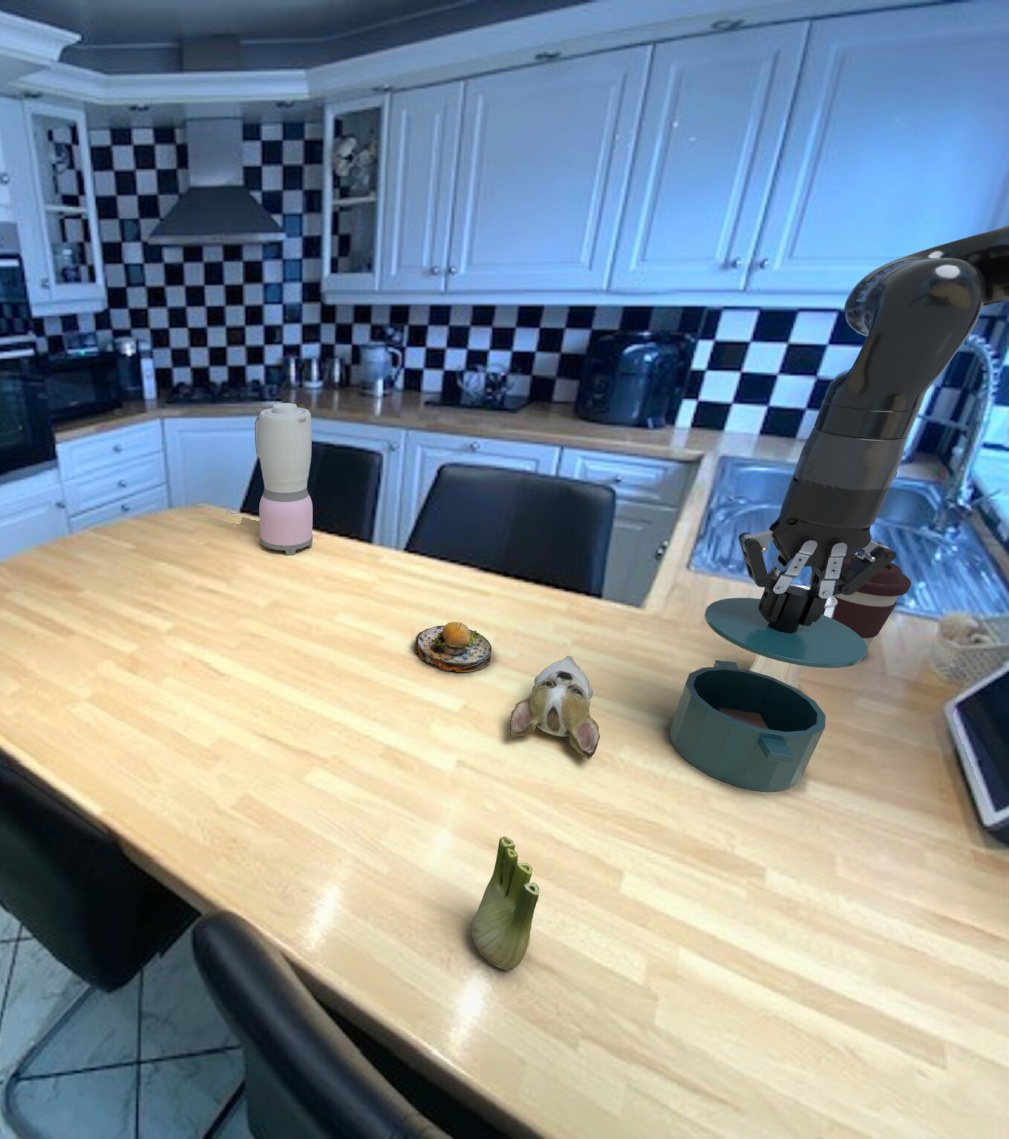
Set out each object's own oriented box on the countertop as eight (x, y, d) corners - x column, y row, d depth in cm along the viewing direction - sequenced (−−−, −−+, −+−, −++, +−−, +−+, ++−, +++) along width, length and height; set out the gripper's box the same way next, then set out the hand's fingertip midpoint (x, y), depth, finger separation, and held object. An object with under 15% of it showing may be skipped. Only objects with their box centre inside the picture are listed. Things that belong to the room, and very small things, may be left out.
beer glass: (812, 700, 88) (853, 608, 82) (757, 696, 89) (793, 605, 83) (782, 671, 95) (818, 584, 88) (731, 668, 96) (763, 582, 89)
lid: (826, 614, 76) (844, 570, 74) (893, 682, 64) (918, 632, 61) (688, 599, 81) (701, 557, 78) (725, 661, 68) (742, 613, 66)
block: (748, 740, 81) (759, 713, 79) (761, 764, 77) (773, 736, 75) (707, 734, 82) (717, 707, 80) (718, 757, 78) (729, 729, 76)
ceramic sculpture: (615, 655, 84) (605, 724, 73) (602, 704, 89) (591, 777, 78) (531, 637, 90) (510, 698, 79) (523, 684, 94) (502, 749, 83)
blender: (324, 544, 144) (326, 404, 130) (285, 560, 137) (284, 414, 123) (277, 527, 155) (275, 396, 141) (240, 540, 148) (234, 404, 134)
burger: (494, 641, 105) (500, 603, 101) (486, 680, 95) (493, 639, 92) (422, 628, 109) (425, 590, 106) (408, 663, 100) (411, 623, 97)
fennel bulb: (525, 987, 55) (549, 896, 50) (466, 968, 56) (483, 877, 51) (524, 928, 60) (546, 840, 54) (471, 912, 61) (487, 824, 56)
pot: (766, 715, 86) (787, 664, 82) (832, 820, 70) (862, 762, 66) (654, 698, 90) (669, 649, 86) (691, 793, 74) (712, 738, 70)
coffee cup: (802, 624, 106) (835, 544, 100) (880, 648, 99) (921, 563, 93) (786, 646, 101) (820, 562, 94) (867, 672, 94) (910, 584, 87)
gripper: (906, 468, 65) (843, 612, 72) (747, 461, 69) (703, 598, 76) (953, 491, 58) (878, 646, 66) (774, 481, 63) (723, 628, 70)
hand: (784, 619), depth 71 cm, fingers closed on lid, 2 cm apart
